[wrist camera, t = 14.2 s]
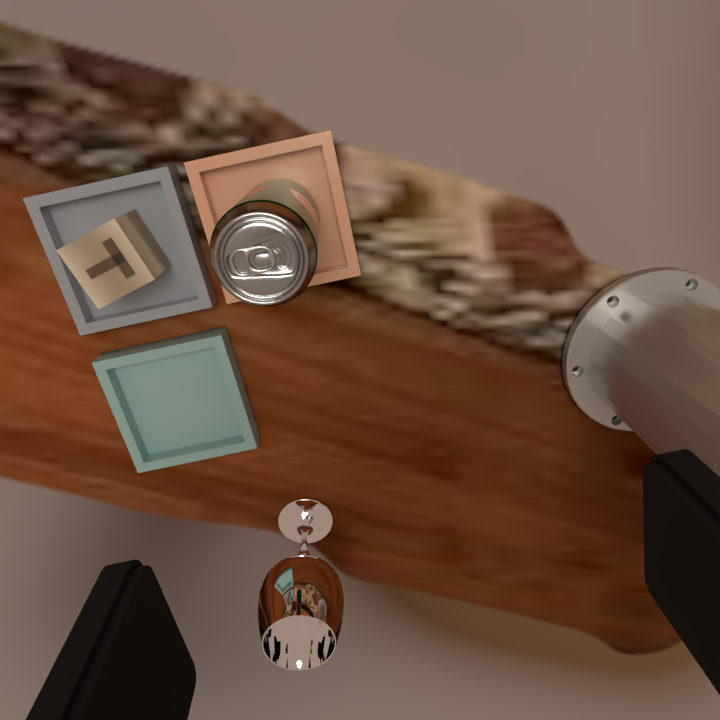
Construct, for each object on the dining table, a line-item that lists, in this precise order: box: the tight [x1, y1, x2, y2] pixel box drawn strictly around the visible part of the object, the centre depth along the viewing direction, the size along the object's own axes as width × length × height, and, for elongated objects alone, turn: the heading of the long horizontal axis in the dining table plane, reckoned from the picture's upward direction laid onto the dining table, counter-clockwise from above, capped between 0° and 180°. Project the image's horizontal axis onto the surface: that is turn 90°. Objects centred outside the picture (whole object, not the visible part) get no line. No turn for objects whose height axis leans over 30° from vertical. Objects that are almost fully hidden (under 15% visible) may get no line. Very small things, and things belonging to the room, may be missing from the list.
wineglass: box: [258, 498, 344, 670], centre depth 41 cm, size 6×6×12 cm
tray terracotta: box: [184, 130, 361, 304], centre depth 37 cm, size 9×9×2 cm
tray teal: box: [92, 327, 260, 473], centre depth 41 cm, size 9×9×2 cm
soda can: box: [209, 180, 320, 307], centre depth 32 cm, size 5×5×12 cm
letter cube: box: [56, 209, 171, 309], centre depth 35 cm, size 4×4×4 cm
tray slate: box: [23, 164, 217, 336], centre depth 37 cm, size 9×9×2 cm
